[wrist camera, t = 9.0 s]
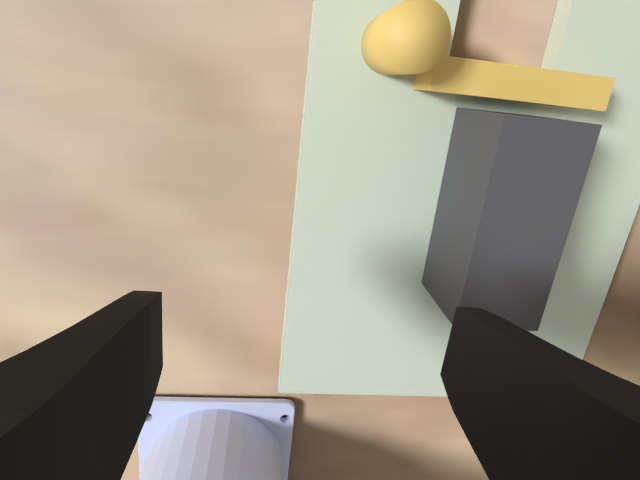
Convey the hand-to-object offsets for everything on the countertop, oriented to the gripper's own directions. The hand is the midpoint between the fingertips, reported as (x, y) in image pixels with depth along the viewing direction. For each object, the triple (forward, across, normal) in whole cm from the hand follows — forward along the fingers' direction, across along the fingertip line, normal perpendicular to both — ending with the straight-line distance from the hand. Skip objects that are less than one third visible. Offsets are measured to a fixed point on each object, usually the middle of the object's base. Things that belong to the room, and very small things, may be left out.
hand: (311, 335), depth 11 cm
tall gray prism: (+9, -8, -2) cm, 12 cm away
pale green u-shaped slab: (+10, -8, -1) cm, 13 cm away
